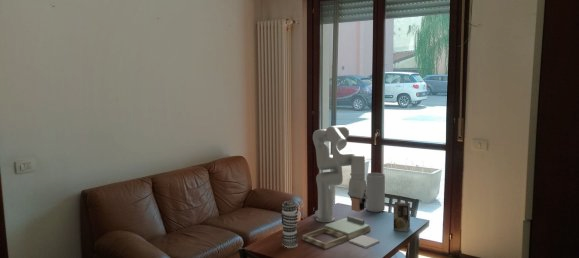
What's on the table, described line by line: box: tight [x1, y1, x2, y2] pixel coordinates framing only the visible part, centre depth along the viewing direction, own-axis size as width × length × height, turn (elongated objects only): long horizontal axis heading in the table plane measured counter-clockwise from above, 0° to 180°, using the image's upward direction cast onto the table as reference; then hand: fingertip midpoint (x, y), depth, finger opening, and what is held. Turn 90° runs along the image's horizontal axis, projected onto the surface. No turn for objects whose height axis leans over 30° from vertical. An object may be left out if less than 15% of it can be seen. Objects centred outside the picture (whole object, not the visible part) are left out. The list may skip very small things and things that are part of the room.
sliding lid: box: [324, 215, 371, 235], centre depth 254 cm, size 19×19×4 cm
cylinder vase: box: [365, 172, 386, 213], centre depth 294 cm, size 12×12×25 cm
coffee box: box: [392, 201, 411, 233], centre depth 255 cm, size 9×6×16 cm
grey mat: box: [348, 234, 380, 249], centre depth 237 cm, size 12×12×1 cm
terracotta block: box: [350, 197, 365, 213], centre depth 235 cm, size 5×5×7 cm
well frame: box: [301, 226, 371, 250], centre depth 249 cm, size 19×39×2 cm, turn 131°
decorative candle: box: [280, 200, 299, 249], centre depth 234 cm, size 9×9×25 cm
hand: (358, 208), depth 236 cm, fingers closed on terracotta block, 5 cm apart
